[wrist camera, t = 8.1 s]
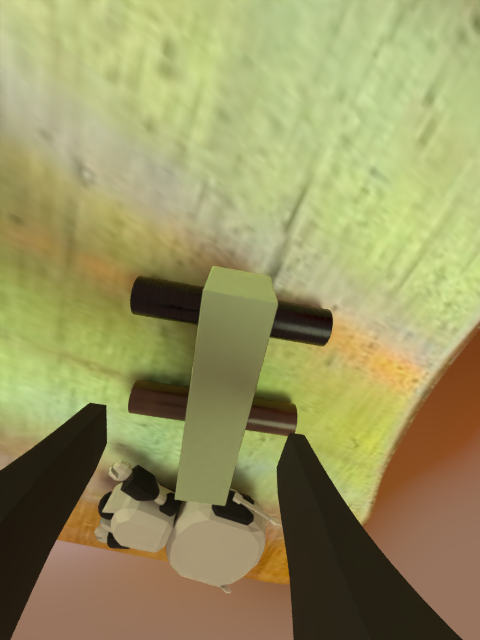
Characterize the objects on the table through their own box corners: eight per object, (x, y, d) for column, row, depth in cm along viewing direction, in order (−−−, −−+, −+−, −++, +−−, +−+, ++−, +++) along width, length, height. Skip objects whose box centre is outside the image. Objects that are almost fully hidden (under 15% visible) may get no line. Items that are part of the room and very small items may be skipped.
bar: (228, 452, 21) (225, 506, 18) (186, 446, 21) (174, 499, 17) (270, 275, 15) (278, 302, 12) (212, 265, 15) (202, 289, 12)
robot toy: (106, 509, 30) (238, 549, 31) (80, 559, 26) (234, 604, 27) (126, 429, 25) (284, 481, 26) (98, 475, 21) (287, 535, 22)
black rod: (142, 305, 19) (129, 320, 17) (144, 271, 18) (130, 282, 16) (315, 335, 20) (324, 353, 17) (326, 304, 19) (336, 319, 16)
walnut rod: (139, 397, 22) (127, 420, 20) (140, 372, 21) (128, 394, 19) (286, 419, 23) (290, 443, 21) (294, 397, 22) (299, 420, 20)
